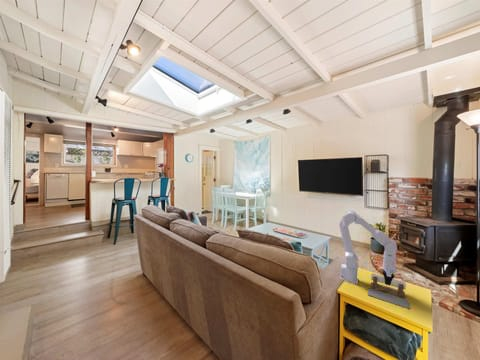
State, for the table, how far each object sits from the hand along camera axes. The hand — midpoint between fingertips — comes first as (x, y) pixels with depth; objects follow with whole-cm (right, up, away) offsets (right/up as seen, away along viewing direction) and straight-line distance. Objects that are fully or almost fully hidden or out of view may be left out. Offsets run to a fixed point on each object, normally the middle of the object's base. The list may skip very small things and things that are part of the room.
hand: (387, 283), depth 117 cm
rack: (0, -4, 0) cm, 4 cm away
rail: (0, 0, 0) cm, 0 cm away
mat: (-5, -5, -7) cm, 10 cm away
